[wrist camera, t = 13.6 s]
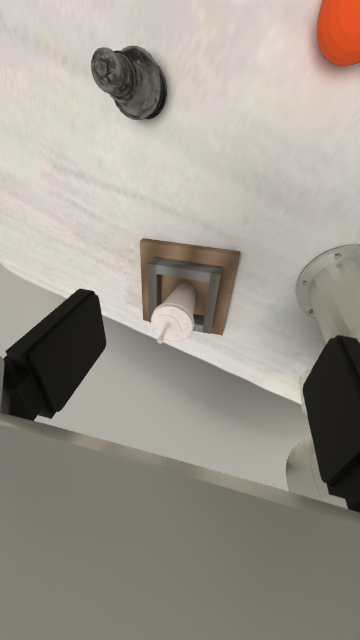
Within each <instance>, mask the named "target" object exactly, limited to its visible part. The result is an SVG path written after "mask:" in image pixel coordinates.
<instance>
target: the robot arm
mask: <svg viewBox="0 0 360 640" xmlns="http://www.w3.org/2000/svg"><path fill="white" fill-rule="evenodd" d="M336 253H338V254H337V255H335V254H336ZM304 280H305V281H304ZM302 281H304V282H302ZM296 295H297V299H298V302H299V305H300V307H301V308H302V309H303V311H304V312H305V313H307V314H308V315H309V316H311V317H313V318H315V319H316V320H317V322H318V325H319V328H320V330H321V333H322V336H323V338H324V341H325V344H326V346H325V347H324V349H323V351H322V353H321V354H320V356H319V358H318V360H317V361H316V363H315V365H314V367H313V368H312V370H311V372H310V374H309V375H308V377H307V379H306V381H305V382H304V384H303V396H304V401H305V406H306V411H307V415H308V420H309V425H310V429H311V434H312V437H311V438H308V439H306V440H304V441H302V442H301V443H299V444H298V445H297V446H295V447H294V449H293V450H292V451H291V452H290V454H289V456H288V459H287V463H286V478H287V484H288V488H289V491H285V490H282V489H278V488H275V487H271V486H268V485H264V484H260V483H256V482H253V481H250V480H246V479H242V478H239V477H235V476H232V475H228V474H225V473H221V472H218V471H214V470H211V469H207V468H204V467H200V466H196V465H193V464H189V463H186V462H182V461H178V460H175V459H171V458H168V457H164V456H161V455H157V454H153V453H150V452H146V451H143V450H139V449H135V448H132V447H128V446H124V445H121V444H117V443H113V442H110V441H106V440H103V439H98V438H95V437H91V436H88V435H84V434H80V433H76V432H73V431H69V430H66V429H62V428H58V427H55V426H51V425H47V424H43V423H39V422H35V421H34V419H35V418H36V417H37V415H38V414H39V416H43V417H47V418H50V419H52V417H53V416H54V414H55V413H56V412H58V411H60V410H62V408H63V407H64V406H65V404H66V403H67V401H68V400H69V399H70V397H71V396H72V394H73V393H74V391H75V390H76V389H77V387H78V386H79V384H80V383H81V382H82V380H83V379H84V377H85V376H86V374H87V373H88V372H89V370H90V369H91V367H92V366H93V365H94V363H95V362H96V360H97V359H98V358H99V356H100V355H101V353H102V352H103V350H104V349H105V347H106V337H105V331H104V326H103V320H102V314H101V308H100V302H99V297H98V296H97V295H96V294H95V292H94V291H90V290H85V289H79V290H77V291H76V292H75V293H74V294H72V295H71V296H70V297H69V298H68V299H66V300H65V301H64V302H63V303H62V304H61V305H59V306H58V307H57V308H56V309H55V310H54V311H52V312H51V313H50V314H49V315H48V316H46V317H45V318H44V319H43V320H42V321H41V322H40V323H38V324H37V325H36V326H35V327H34V328H32V329H31V330H30V331H29V332H28V333H27V334H25V336H23V337H22V338H21V339H20V340H18V341H17V342H16V343H15V344H13V345H12V346H11V347H10V348H9V349H8V350H6V353H7V356H6V357H5V358H4V359H3V358H2V357H1V356H0V640H360V246H359V245H353V246H344V247H339V248H336V249H333V250H330V251H327V252H326V253H324V254H322V255H320V256H318V257H317V258H316V259H314V260H313V261H312V262H311V263H310V264H309V265H308V266H307V267H306V268H305V269H304V271H303V272H302V273H301V275H300V277H299V279H298V282H297V287H296Z"/></svg>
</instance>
